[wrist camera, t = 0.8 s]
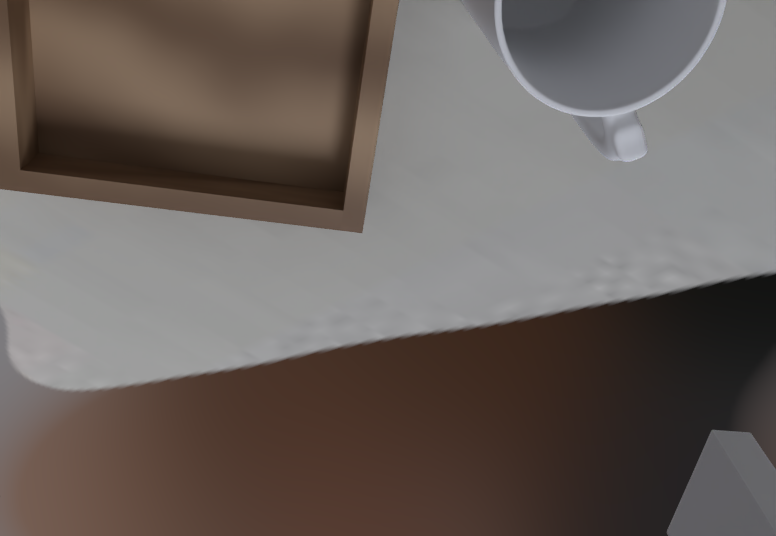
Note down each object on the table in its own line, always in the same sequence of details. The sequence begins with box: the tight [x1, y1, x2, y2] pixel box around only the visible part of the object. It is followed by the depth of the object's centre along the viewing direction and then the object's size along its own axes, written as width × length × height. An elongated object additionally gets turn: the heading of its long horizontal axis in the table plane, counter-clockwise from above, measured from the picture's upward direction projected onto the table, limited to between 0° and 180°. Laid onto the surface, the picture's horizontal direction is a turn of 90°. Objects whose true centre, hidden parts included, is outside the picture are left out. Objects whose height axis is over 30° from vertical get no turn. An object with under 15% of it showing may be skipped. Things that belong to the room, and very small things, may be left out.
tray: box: [0, 0, 399, 233], centre depth 31 cm, size 16×16×3 cm
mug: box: [461, 0, 727, 162], centre depth 27 cm, size 10×7×12 cm, turn 20°
